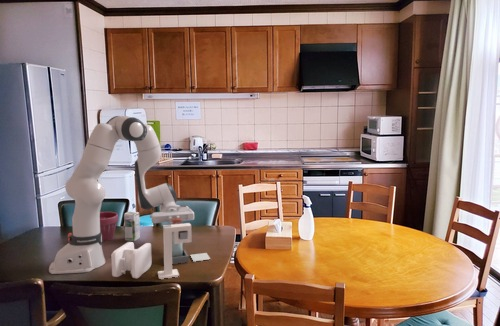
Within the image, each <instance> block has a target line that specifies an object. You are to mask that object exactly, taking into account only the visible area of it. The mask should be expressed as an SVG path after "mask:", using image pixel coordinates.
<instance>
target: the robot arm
mask: <svg viewBox="0 0 500 326" xmlns="http://www.w3.org/2000/svg"><path fill="white" fill-rule="evenodd" d="M119 140H122V141H128V142H129V141H130V142H134V145H135V147H136V150H137V151H136V152H137V159H136V160H135V161H134V175H135V182H136V189H137V202H138V205H139V206H140V209H142V210H145V211H149V210H152V209H154V208H155V207H159V211H155V212H152V213H151V214H150V215H149V218H151V223H152V224H162V223H169V224H172V223H171V218H178V217H180V218H181V219H182V222H185V221H187V222H188V221H193V220H195V212H194V211H193V210H192V209H191V208H190V207H189V206H187V205H179V204H177V202H178V201H177V200H178V195H177V193H176V191H175V188H174V187H173V186H172V185H171V184H170V183H167V182H165V183H162V184H159V185H157V186H154V187H150V188H148V189H147V188H146V182H145V181H146V179H145V174H146V173H147V171H149V170H150V169H151V168H152V167H153V166H155V165H156V164H157V163H158V162H159V161H160V159H161V157H162V147H161V143H160V141H159V138H158V136H157V133H156V131H155V130H154V128H153V126H152V125H150V124H146V123H144V122H143V121H141V120H140V119H139V118H137V117H133V116H132V117H131V116H129V115H117V116H113V117H111V118H110V119H108V121H107V122H101V123H98V124H96V125H95V126H94V128H93V130H92V132H91V133H90V135H89V138H88V139H87V142H86V144H85V148H84V151H83V153H82V155H81V159H80V161H79V162H78V165H77V166H76V168H75V169H74V172H73V173H72V174H71V176H70V178H68V180H66V183H65V188H64V189H65V192H66V194H67V195H68V196H69V198H71V199H72V200H74V203H75V205H74V211H73V214H72V217H71V221H72V223H71V224H72V226H71V227H72V232H69V233H68V234H67V243H66V244H65V245H64V246H63V247H62V248H61V249H59V250H58V251H57V252H56V255H55V256H54V257H55V258H54V261H52V262H51V263H50V264H49V267H48V272H49V273H50V274H52V275H57V274H76V273H77V274H79V273H89V272H91V271H93V270H94V269H98V268H100V267H102V266H103V265H104V264H105V263H106V258H105V255H104V251H103V247H102V243H103V241H102V234H101V231H100V212H101V208H102V203H103V201H104V199H105V196H106V190H105V188H104V186H103V185H102V183H101V182H100V181H98V180H99V178H100V177H101V176H102V174H103V172H104V171H107V168H108V166H109V162H110V160H111V157H112V155H113V152H114V148H115V145H116V143H117V142H118V141H119Z"/></svg>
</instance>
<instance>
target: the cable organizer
mask: <svg viewBox="0 0 500 326" xmlns="http://www.w3.org/2000/svg"><path fill="white" fill-rule="evenodd" d="M134 243H135V242H134V241H127V242H126V243H124V244H123V245H121V246H120V247H118V248H116V249H114V251H112V253H111V255H110V257H111V275H112V277H114V278H119V277H121V276H122V275H123V274H124V275H126V272H127V271H130V275H131V277H132V278H133V279H139V278H140V277H141V276H142V275H143V274H144V273H147V271H148V270H149V269H150V268H151V266H152V262H153V261H152V244H151V243H150V242H145V243H144V244H143V245H141V246H140V247H138V248H135V244H134Z"/></svg>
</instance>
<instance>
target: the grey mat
mask: <svg viewBox="0 0 500 326" xmlns="http://www.w3.org/2000/svg"><path fill="white" fill-rule="evenodd" d="M190 256H191V257H190ZM189 257H190V259H191V258H192V259H191V260H193V261H192V262H193V263H197V262H196V261H201V262H204V261H203V260H209V259H211V257H210V255H209V254H208V253H207V252H202V253H195V254H193V253H192V254H190V255H189ZM209 261H210V260H209Z"/></svg>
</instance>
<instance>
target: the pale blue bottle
mask: <svg viewBox="0 0 500 326" xmlns="http://www.w3.org/2000/svg"><path fill="white" fill-rule="evenodd" d="M183 245H184V243H178V244H174V241H173V232H172V257H179V256H183V250H184V248H183Z"/></svg>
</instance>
